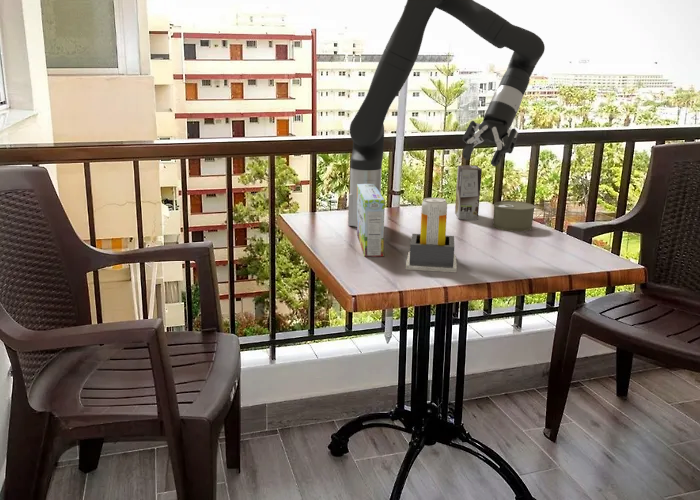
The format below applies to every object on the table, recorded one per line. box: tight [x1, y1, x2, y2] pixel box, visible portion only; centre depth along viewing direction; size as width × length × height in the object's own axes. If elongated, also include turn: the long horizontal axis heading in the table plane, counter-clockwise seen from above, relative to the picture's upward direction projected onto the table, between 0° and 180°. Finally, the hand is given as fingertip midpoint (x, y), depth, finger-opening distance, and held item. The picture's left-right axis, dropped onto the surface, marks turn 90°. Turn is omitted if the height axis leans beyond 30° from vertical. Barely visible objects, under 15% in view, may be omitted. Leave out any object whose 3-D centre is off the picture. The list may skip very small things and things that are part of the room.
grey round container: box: [492, 200, 536, 233], centre depth 200 cm, size 12×12×7 cm
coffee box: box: [454, 164, 483, 221], centre depth 210 cm, size 9×6×16 cm
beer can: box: [420, 197, 448, 245], centre depth 160 cm, size 6×6×15 cm
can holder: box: [405, 233, 458, 273], centre depth 162 cm, size 12×12×6 cm
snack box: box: [356, 184, 386, 258], centre depth 175 cm, size 21×6×15 cm, turn 5°
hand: (479, 161), depth 173 cm, fingers open, 8 cm apart
